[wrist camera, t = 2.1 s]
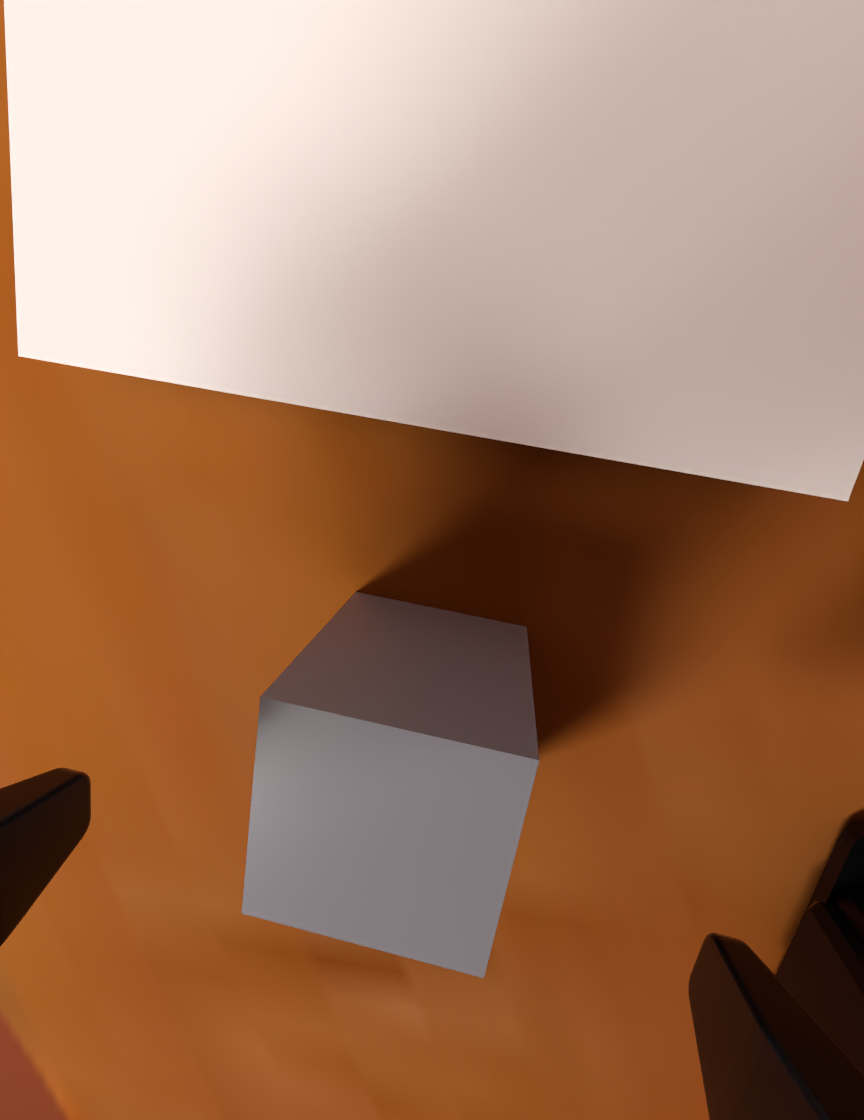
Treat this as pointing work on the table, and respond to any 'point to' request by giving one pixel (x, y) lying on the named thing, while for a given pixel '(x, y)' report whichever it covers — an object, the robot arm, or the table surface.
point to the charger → (394, 781)
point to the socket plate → (461, 216)
